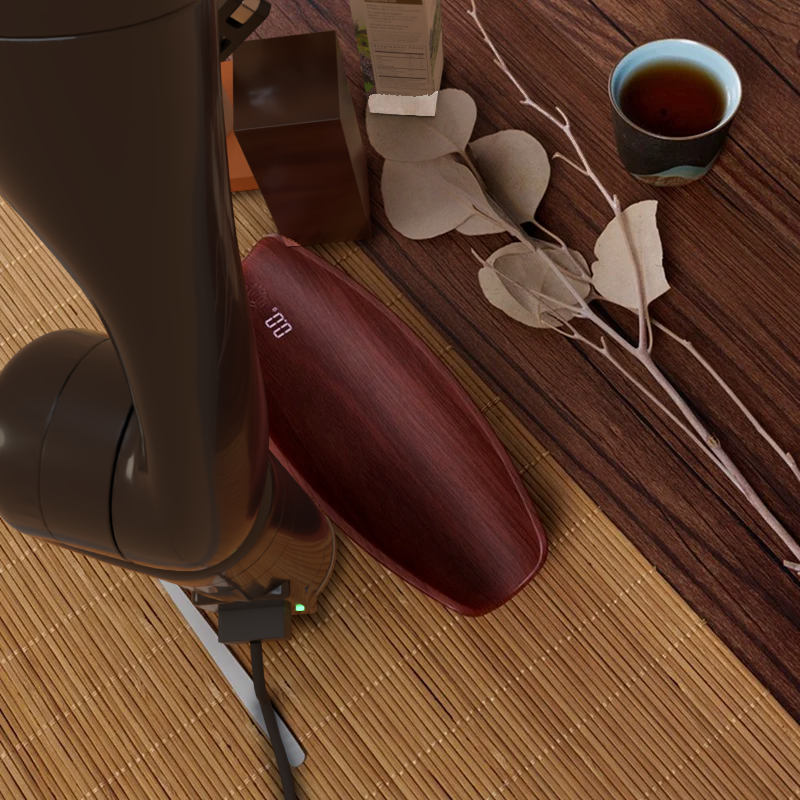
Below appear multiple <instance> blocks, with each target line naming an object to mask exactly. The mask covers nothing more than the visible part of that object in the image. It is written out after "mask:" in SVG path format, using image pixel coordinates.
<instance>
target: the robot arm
mask: <svg viewBox="0 0 800 800" xmlns="http://www.w3.org/2000/svg"><path fill="white" fill-rule="evenodd" d="M271 9H272V2H270V1H268V0H0V196H1V197H2V198H3V199H4V200H5V201H6V203H7V204H8V205H9V206H10V207H11V208H12V209H13V210H14V211H15V213H16V214H17V215H18V216H19V217H20V218H21V219H22V221H24V222H25V224H26V225H27V226H28V227H29V228H30V229H31V231H32V232H33V233H34V234H35V235H36V236H37V238H38V239H39V240H40V241H41V242H42V244H44V246H45V247H46V248H47V249H48V250H49V251H50V253H51V254H52V255H53V256H54V257H55V259H56V260H57V261H58V263H59V264H60V265H61V266H62V267H63V269H64V270H65V272H67V274H68V275H69V276H70V277H71V279H72V280H73V281H74V282H75V284H77V286H78V287H79V289H80V290H81V291H82V293H83V294H84V297H86V299H87V301H88V302H89V304H90V305H91V307H92V308H93V310H94V311H95V312H96V314H97V316H98V318H99V320H100V322H101V323H102V325H103V328H104V329H105V332H104V331H101V330H97V329H92V328H84V327H67V328H60V329H56V330H53V331H49V332H48V333H47V332H46V333H45V334H42V335H40V336H38V337H37V338H34V339H33V340H31V341H30V342H28V343H26V344H25V345H24V346H23V347H21V348H20V349H19V350H18V351H16V353H15V354H13V356H12V357H11V358H10V359H9V360H8V361H7V363H6V364H5V365H4V366H3V368H2V369H1V370H0V517H1V519H2V520H3V521H4V522H6V523H7V524H8V525H9V526H10V527H12V528H13V529H15V530H16V531H18V532H19V533H21V534H23V535H25V536H28V537H31V538H33V539H35V540H38V541H41V542H44V543H47V544H49V545H52V546H55V547H58V548H60V549H64V550H67V551H69V552H73V553H76V554H79V555H81V556H85V557H87V558H90V559H93V560H95V561H98V562H101V563H104V564H106V565H109V566H113V567H117V568H120V569H123V570H126V571H130V572H132V573H133V572H134V573H137V574H141V575H144V576H147V577H151V578H154V579H157V580H160V581H164V582H167V583H170V584H172V585H173V584H174V585H176V586H178V587H181V588H184V589H186V590H189V591H191V604H192V605H193V606H194V607H197V608H199V609H202V610H205V611H208V612H211V613H214V614H217V642H218V643H219V644H223V645H227V646H230V645H243V644H244V645H245V644H249V649H250V663H251V676H252V683H253V689H254V694H255V696H256V699H257V701H258V704H259V706H260V710H261V714H262V718H263V721H264V724H265V728H266V731H267V734H268V737H269V741H270V744H271V748H272V750H273V754H274V757H275V761H276V765H277V769H278V774H279V778H280V782H281V786H282V791H283V792H282V793H283V797H284V798H283V799H284V800H297V795H296V788H295V784H294V780H293V778H294V777H293V775H292V771H291V766H290V763H289V759H288V756H287V752H286V749H285V745H284V743H283V740H282V736H281V733H280V729H279V726H278V722H277V719H276V714H275V711H274V708H273V704H272V701H271V698H270V694H269V692H268V691H267V686H266V679H265V669H264V667H265V666H264V654H263V643H269V642H271V643H272V642H273V643H274V642H285V641H286V642H287V641H292V640H293V632H292V631H293V629H292V628H293V627H292V616H298V615H299V616H302V615H313V614H315V613H317V611H318V598H319V596H320V595H321V594H322V593H323V592H324V590H325V588H326V587H327V585H328V584H329V582H330V580H331V578H332V576H333V573H334V570H335V566H336V563H337V557H338V543H337V536H336V531H335V529H334V526H333V523H332V521H331V519H330V517H329V516H328V517H327V516H326V515H325V514H324V513H323V512H322V510H321V509H320V508H319V506H318V505H317V504H316V503H315V502H314V500H315V499H314V498H313V497H311V496H310V495H309V494H308V492H307V491H306V490H305V489H304V488H303V487H302V486H301V484H300V483H299V482H298V481H297V479H295V477H294V476H293V475H292V474H291V473H290V472H289V470H288V469H287V468H286V467H285V466H284V465H283V463H281V461H280V460H279V459H278V457H277V456H276V455H275V454H274V453H273V451H271V450H270V425H269V423H270V422H269V410H268V400H267V393H266V387H265V382H264V376H263V369H262V364H261V359H260V354H259V353H260V352H259V348H258V343H257V337H256V332H255V327H254V321H253V316H252V312H251V305H250V300H249V294H248V290H247V285H246V279H245V274H244V269H243V263H242V257H241V252H240V251H241V250H240V247H239V241H238V234H237V227H236V220H235V219H236V218H235V213H234V203H233V195H232V193H233V192H231V184H230V175H229V163H228V152H227V141H226V130H225V119H224V109H223V95H222V77H221V62H225V61H227V59H228V58H229V57H230V56H231V55H233V52H234V51H235V50H236V49H237V48H238V47H239V46H240V45H241V44H242V43H243V42H244V41H247V39H248V38H249V37H250V36H251V35H252V34H253V33H254V32H255V31H256V30H257V29H258V28H259V27H260V26H261V25H262V24H263V23H264V22H265V21H266V20H267V18H268V17H269V16H270V13H271ZM312 498H313V499H314V500H313V499H312Z"/></svg>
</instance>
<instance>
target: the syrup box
mask: <svg viewBox="0 0 800 800" xmlns="http://www.w3.org/2000/svg"><path fill="white" fill-rule="evenodd" d="M348 2H349V8H350V12H351V19H352V23H353V24H352V25H353V30H354V34H355V35H354V36H355V41H356V47H357V53H358V57H359V63H360V68H361V75H362V79H363V86H364V91H365V96H366V97H365V98H366V101H367V103H368V99H369V96H370V95H372V94H381V95H383V94H385V95H389V94H390V95H396V96H399V95H401V96H413V97H416V96H423V95H427V94H428V96H430V95H432V94H433V93H434V92H435V91H439V92H440V88H441V82H442V77H443V69H444V64H445V58H444V57H445V53H444V52H445V51H444V37H443V36H444V35H443V19H442V18H443V16H442V0H348Z"/></svg>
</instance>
